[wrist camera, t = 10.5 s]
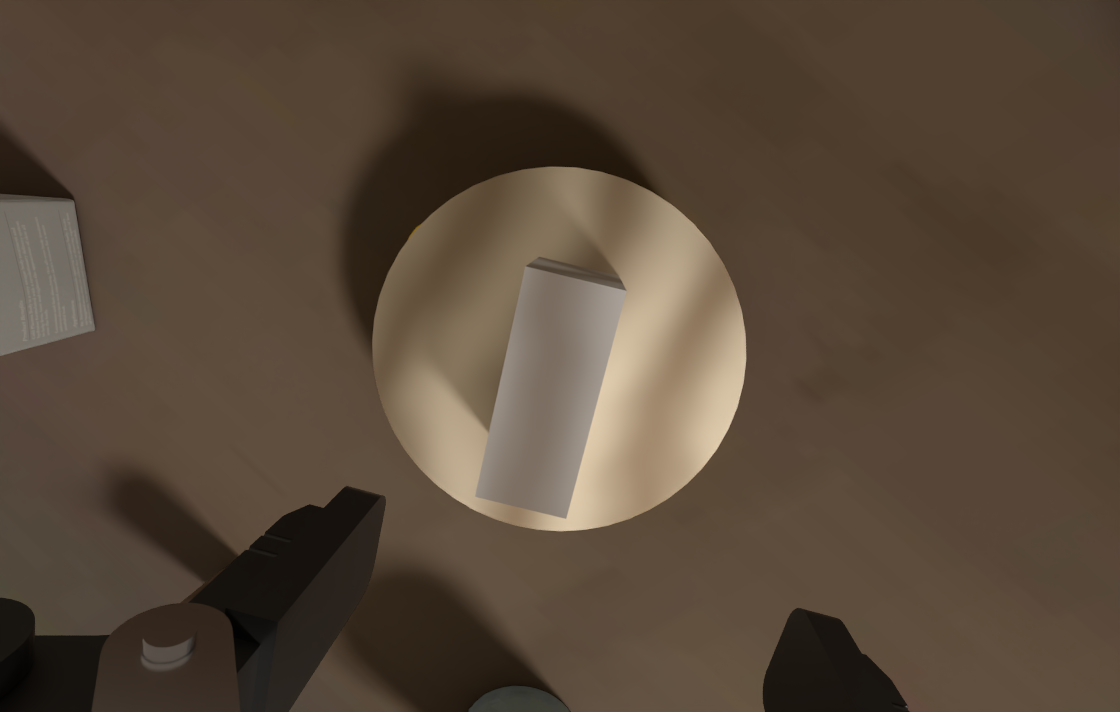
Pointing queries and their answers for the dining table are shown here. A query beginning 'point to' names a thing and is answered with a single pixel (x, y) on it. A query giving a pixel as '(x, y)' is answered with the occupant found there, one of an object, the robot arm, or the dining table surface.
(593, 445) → the lid
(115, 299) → the dining table surface
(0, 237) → the skincare box
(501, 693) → the blue-grey pot
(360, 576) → the robot arm
